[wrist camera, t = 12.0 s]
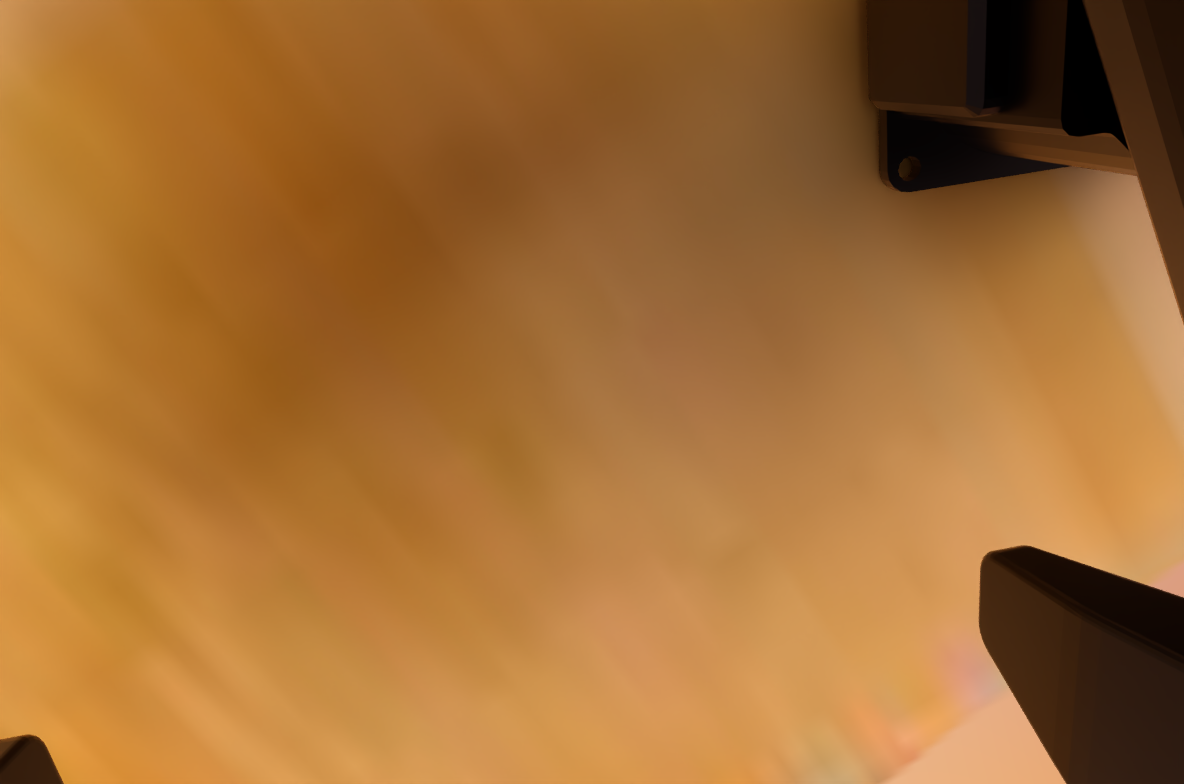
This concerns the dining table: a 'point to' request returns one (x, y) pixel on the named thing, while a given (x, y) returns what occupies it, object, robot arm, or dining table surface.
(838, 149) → the dining table surface
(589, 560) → the dining table surface
